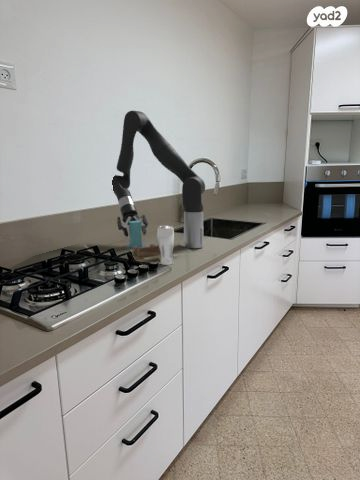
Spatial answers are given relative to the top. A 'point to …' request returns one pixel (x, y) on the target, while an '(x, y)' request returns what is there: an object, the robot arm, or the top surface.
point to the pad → (131, 247)
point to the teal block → (135, 233)
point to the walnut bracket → (146, 253)
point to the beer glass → (165, 244)
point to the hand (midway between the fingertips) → (136, 235)
